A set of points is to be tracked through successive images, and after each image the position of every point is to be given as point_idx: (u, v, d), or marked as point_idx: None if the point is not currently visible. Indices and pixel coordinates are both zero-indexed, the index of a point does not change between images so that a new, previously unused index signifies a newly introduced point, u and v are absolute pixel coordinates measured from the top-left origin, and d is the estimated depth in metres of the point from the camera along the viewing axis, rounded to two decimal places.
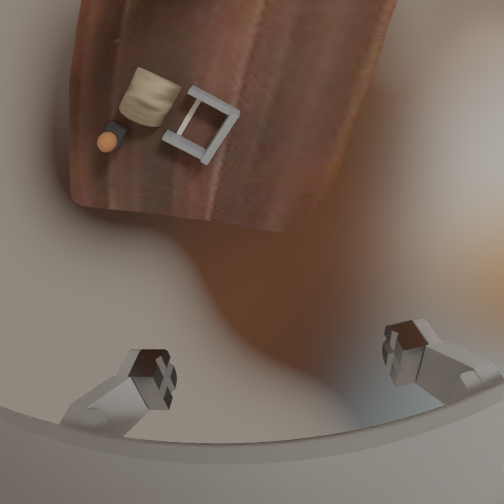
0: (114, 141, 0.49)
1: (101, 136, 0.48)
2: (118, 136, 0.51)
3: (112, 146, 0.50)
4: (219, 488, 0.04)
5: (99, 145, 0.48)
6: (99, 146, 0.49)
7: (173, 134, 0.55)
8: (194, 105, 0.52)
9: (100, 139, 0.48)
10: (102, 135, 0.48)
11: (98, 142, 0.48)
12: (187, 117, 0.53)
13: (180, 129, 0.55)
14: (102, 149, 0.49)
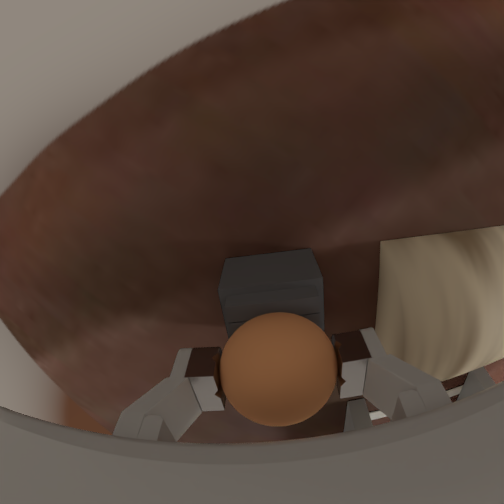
0: None
1: (315, 360, 0.08)
2: None
3: None
4: (218, 487, 0.04)
5: (266, 395, 0.08)
6: (260, 399, 0.08)
7: None
8: None
9: (304, 376, 0.08)
10: (321, 357, 0.08)
11: (276, 375, 0.08)
12: None
13: (377, 413, 0.19)
14: (252, 413, 0.08)
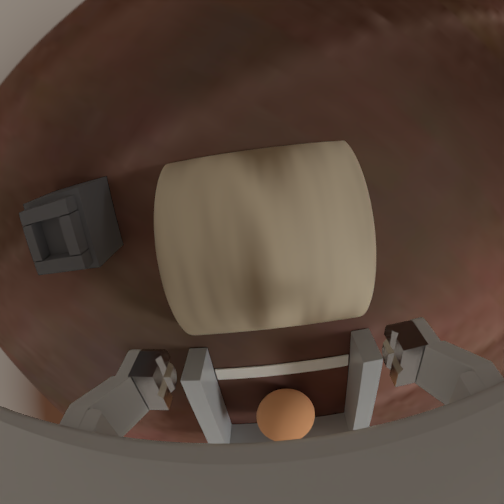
0: None
1: (302, 413, 0.17)
2: (76, 264, 0.12)
3: None
4: (219, 488, 0.04)
5: (279, 428, 0.17)
6: (276, 430, 0.17)
7: (210, 374, 0.18)
8: (317, 363, 0.19)
9: (296, 421, 0.17)
10: (305, 412, 0.17)
11: (284, 420, 0.17)
12: (275, 368, 0.19)
13: (232, 371, 0.19)
14: (272, 436, 0.17)
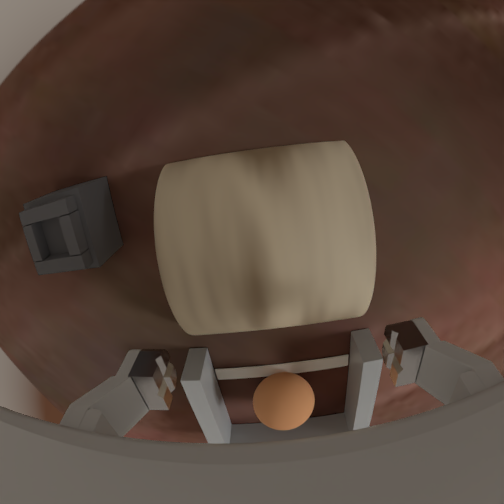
0: (302, 422, 0.16)
1: (298, 379, 0.18)
2: (76, 264, 0.12)
3: (287, 425, 0.16)
4: (219, 488, 0.04)
5: (274, 388, 0.17)
6: (271, 391, 0.17)
7: (210, 374, 0.18)
8: (317, 363, 0.19)
9: (292, 382, 0.17)
10: (302, 381, 0.18)
11: (279, 380, 0.17)
12: (275, 368, 0.19)
13: (232, 371, 0.19)
14: (266, 403, 0.16)
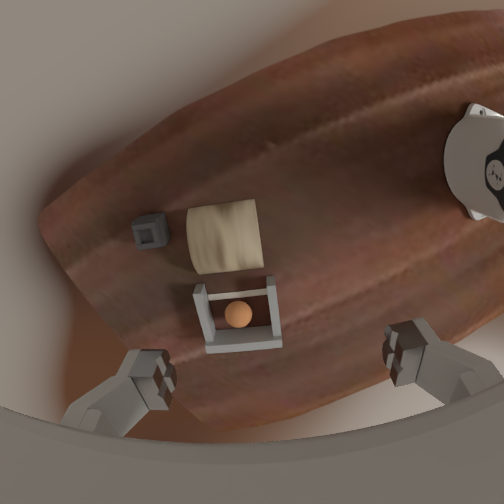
0: (246, 324, 0.44)
1: (243, 306, 0.43)
2: (156, 245, 0.39)
3: (239, 326, 0.43)
4: (218, 488, 0.04)
5: (233, 311, 0.43)
6: (231, 313, 0.43)
7: (205, 295, 0.44)
8: (253, 292, 0.45)
9: (240, 308, 0.43)
10: (245, 307, 0.43)
11: (235, 307, 0.43)
12: (234, 294, 0.45)
13: (215, 295, 0.45)
14: (230, 317, 0.43)
